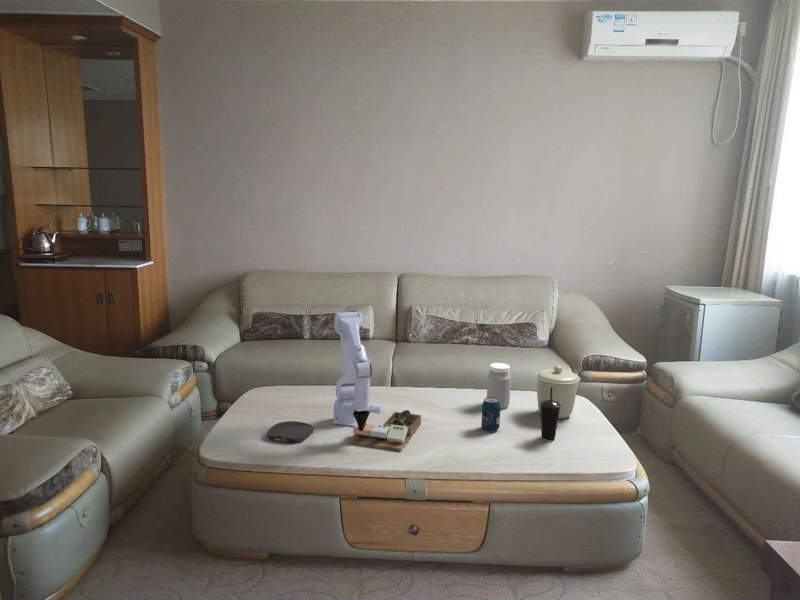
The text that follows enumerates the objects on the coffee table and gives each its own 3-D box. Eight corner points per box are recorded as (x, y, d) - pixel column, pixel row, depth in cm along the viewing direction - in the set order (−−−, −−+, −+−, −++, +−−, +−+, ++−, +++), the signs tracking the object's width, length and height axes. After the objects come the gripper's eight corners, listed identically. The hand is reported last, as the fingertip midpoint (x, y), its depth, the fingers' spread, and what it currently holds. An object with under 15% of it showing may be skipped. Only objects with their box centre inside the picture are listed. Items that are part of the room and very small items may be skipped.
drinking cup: (559, 435, 227) (563, 385, 224) (557, 443, 220) (561, 391, 217) (538, 432, 230) (542, 382, 226) (536, 440, 223) (539, 389, 219)
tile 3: (387, 440, 216) (386, 437, 215) (392, 427, 221) (391, 424, 219) (403, 443, 215) (402, 439, 213) (407, 430, 219) (407, 426, 218)
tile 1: (353, 433, 219) (353, 427, 219) (359, 427, 225) (359, 421, 224) (368, 435, 217) (368, 430, 217) (374, 429, 223) (374, 424, 222)
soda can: (477, 429, 232) (479, 399, 230) (487, 424, 237) (489, 395, 235) (492, 434, 228) (494, 404, 225) (502, 429, 233) (504, 399, 230)
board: (348, 443, 217) (348, 433, 216) (373, 418, 241) (373, 408, 241) (401, 451, 211) (401, 441, 210) (421, 424, 235) (421, 415, 235)
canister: (574, 408, 256) (578, 361, 253) (579, 424, 239) (583, 373, 235) (531, 405, 259) (534, 358, 256) (533, 420, 242) (536, 370, 238)
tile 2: (369, 435, 217) (369, 430, 217) (375, 429, 223) (375, 424, 222) (385, 438, 215) (385, 432, 215) (390, 431, 221) (390, 426, 221)
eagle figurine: (412, 429, 228) (414, 417, 236) (402, 415, 226) (404, 403, 234) (396, 438, 230) (398, 425, 238) (385, 424, 228) (388, 411, 236)
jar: (492, 400, 265) (494, 360, 261) (513, 405, 259) (515, 365, 256) (482, 406, 257) (484, 365, 254) (503, 411, 251) (505, 370, 248)
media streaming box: (316, 430, 229) (316, 423, 228) (299, 446, 215) (299, 438, 214) (281, 426, 233) (281, 418, 232) (263, 440, 219) (263, 433, 218)
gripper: (339, 395, 215) (339, 431, 217) (377, 400, 210) (376, 436, 213) (346, 389, 221) (346, 424, 224) (383, 393, 217) (383, 429, 219)
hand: (361, 429), depth 219 cm, fingers closed, pressing on tile 1
